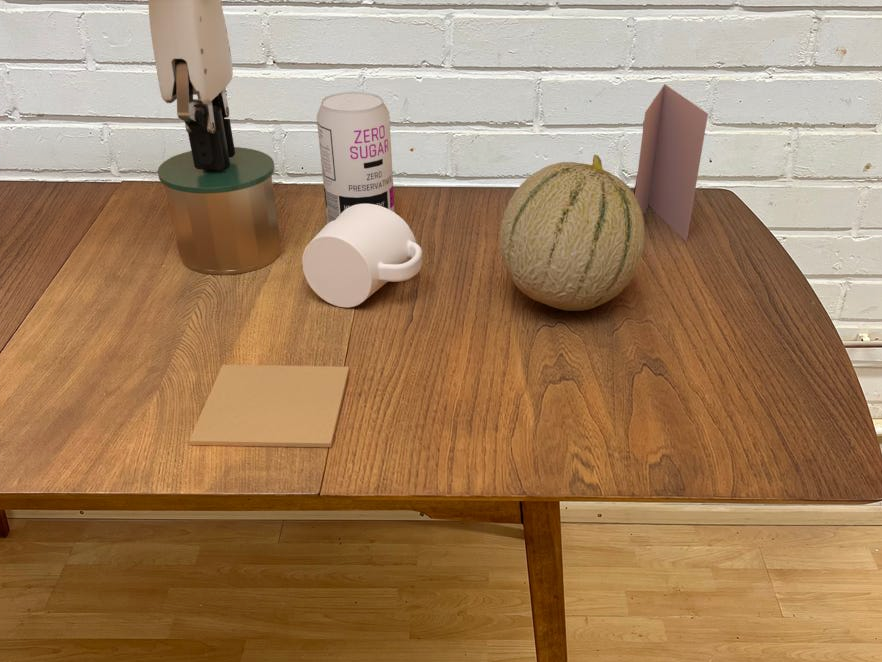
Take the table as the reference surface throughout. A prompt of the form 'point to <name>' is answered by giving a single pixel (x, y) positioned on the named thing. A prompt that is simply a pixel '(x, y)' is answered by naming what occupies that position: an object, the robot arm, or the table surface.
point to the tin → (226, 229)
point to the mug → (360, 255)
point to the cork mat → (272, 406)
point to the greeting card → (670, 158)
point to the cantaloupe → (572, 235)
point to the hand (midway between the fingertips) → (215, 160)
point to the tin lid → (235, 176)
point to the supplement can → (355, 151)
